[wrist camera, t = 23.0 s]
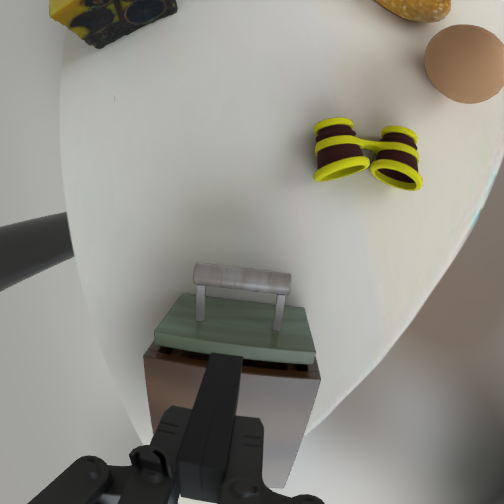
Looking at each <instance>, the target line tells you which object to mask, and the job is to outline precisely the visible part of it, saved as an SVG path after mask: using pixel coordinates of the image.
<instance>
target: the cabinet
mask: <svg viewBox="0 0 504 504" xmlns="http://www.w3.org/2000/svg"><path fill="white" fill-rule="evenodd" d="M172 350H173V348H169V347H164V346H159V345H155V340H154V341H153V342H152V344H151V345H150V347H149V348H148V350H147V351H146V353H145V354H144V356H143V358H144V368H145V378H146V386H147V395H148V402H149V409H150V416H151V423H152V429H153V435H154V434H155V431H156V430H157V427H158V424H159V423H160V420H161V418H162V415H163V413H164V412H165V411H166V410H167V409H168V408H170V407H171V406H172V405H174V406H178V407H183V408H189V409H192V408H193V405H194V402H195V399H196V397H197V394H198V391H199V388H200V385H201V382H202V379H203V376H204V373H205V370H206V367H207V364H208V361H204V360H198V359H192V358H186V357H180V356H175V355H170V354H171V352H172ZM296 365H297V371H290V370H278V369H267V368H257V367H248V366H242V371H241V380H240V389H239V398H238V404H237V411H236V415H237V416H246V417H255V418H260V420H261V422H262V424H263V426H264V445H263V468H262V478H263V481H264V484H265V485H266V486H267V487H268V488H284V486H285V484H286V481H287V479H288V476H289V474H290V471H291V468H292V466H293V463H294V460H295V458H296V455H297V452H298V449H299V446H300V443H301V441H302V438H303V435H304V432H305V429H306V426H307V423H308V420H309V417H310V414H311V411H312V408H313V404H314V401H315V398H316V395H317V391H318V388H319V384H320V381H321V377H320V373H319V369H318V364H317V360H316V356H315V358H314V362H313V365H305V364H296Z"/></svg>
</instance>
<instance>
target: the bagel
mask: <svg viewBox="0 0 504 504" xmlns="http://www.w3.org/2000/svg"><path fill="white" fill-rule="evenodd" d="M375 1H377V2H378V3H379V4H381V5H382V6H383V7H385V8H387V9H388V10H390V11H391V12H393V13H394V14H396V15H398V16H400V17H402V18H405V19H408V20H412V21H419V22H421V21H422V22H437V21H440V20H442V19H444V18H445V17H446V15H448V13H449V11H450V8H451V0H375Z"/></svg>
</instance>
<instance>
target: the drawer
mask: <svg viewBox="0 0 504 504" xmlns="http://www.w3.org/2000/svg"><path fill="white" fill-rule="evenodd" d="M193 282H194V284H197V293H196V295H191V294H184V293H182V295H181V296H180V297H179V299H178V300H177V301H176V303H175V304H174V305H173V307H172V308H171V309H170V311H169V312H168V313H167V315H166V316H165V317H164V319H163V320H162V321H161V323H160V324H159V326H158V327H157V328H156V330H155V331H154V339H155V345H159V346H164V347H169V348H173V350H172V352H171V354H170V355H175V356H180V357H186V358H192V359H198V360H204V361H209V358H210V355H211V352H214V353H221V354H228V355H235V356H243V362H242V366H248V367H257V368H267V369H278V370H290V371H297V365H296V364H305V365H313V362H314V358H315V354H316V350H315V347H314V343H313V339H312V335H311V331H310V328H309V324H308V320H307V316H306V313H305V309H304V308H302V307H291V306H284V302H285V295H288V294H289V292H290V286H291V274H290V273H283V272H274V271H265V270H256V269H248V268H239V267H230V266H222V265H214V264H205V263H196V264H195V267H194V272H193ZM206 285H207V286H215V287H223V288H231V289H239V290H248V291H256V292H265V293H274V294H277V298H276V305H272V304H263V303H254V302H245V301H237V300H229V299H221V298H213V297H206V296H205V292H206Z"/></svg>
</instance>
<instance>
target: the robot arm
mask: <svg viewBox="0 0 504 504" xmlns="http://www.w3.org/2000/svg"><path fill="white" fill-rule="evenodd" d="M242 362H243V356H235V355H228V354H221V353H214V352H211V355H210V358H209V361H208V364H207V367H206V370H205V373H204V376H203V379H202V382H201V385H200V388H199V391H198V394H197V397H196V399H195V402H194V405H193V408H192V409H189V408H183V407H178V406H174V405H172V406H171V407H170V408H168V409H167V410H166V411H165V412H164V413H163V415H162V418H161V420H160V423H159V424H158V427H157V430H156V431H155V434H154V436H153V438H152V440H151V443H150V445H144V446H139V447H137V448H135V449H133V450H132V451H131V453H130V454H129V457H130V460H131V463H132V465H131V466H111V465H107V464H106V463H105V462H104V461H103V460H102V459H100V458H98V457H96V456H84V457H81V458H79V459H77V460H76V461H75V462H74V463H73V464H71V465H70V467H68V468H67V469H66V470H65V471H64V472H63V473H62V474H60V475H59V476H58V477H57V478H56V479H55V480H54V481H53V482H51V483H50V484H49V485H48V486H47V487H46V488H45V489H44V490H42V491H41V492H40V493H39V494H38V495H37V496H36V497H35V498H33V499H32V500H31V501H30V502H29V503H28V504H178V499H179V495H180V494H181V497H185V498H189V499H194V500H200V501H206V502H212V503H218V504H324V502H323V501H322V500H321V499H319V498H318V497H316V496H312V495H309V494H305V495H298V496H295V497H292V498H291V497H287V496H284V495H281V494H277V493H275V492H273V491H272V490H270V489H269V488H268V487H267V486H266V485H265V484H264V481H263V478H262V468H263V445H264V426H263V424H262V422H261V420H260V418H255V417H246V416H237V415H236V411H237V404H238V398H239V389H240V380H241V371H242Z"/></svg>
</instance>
